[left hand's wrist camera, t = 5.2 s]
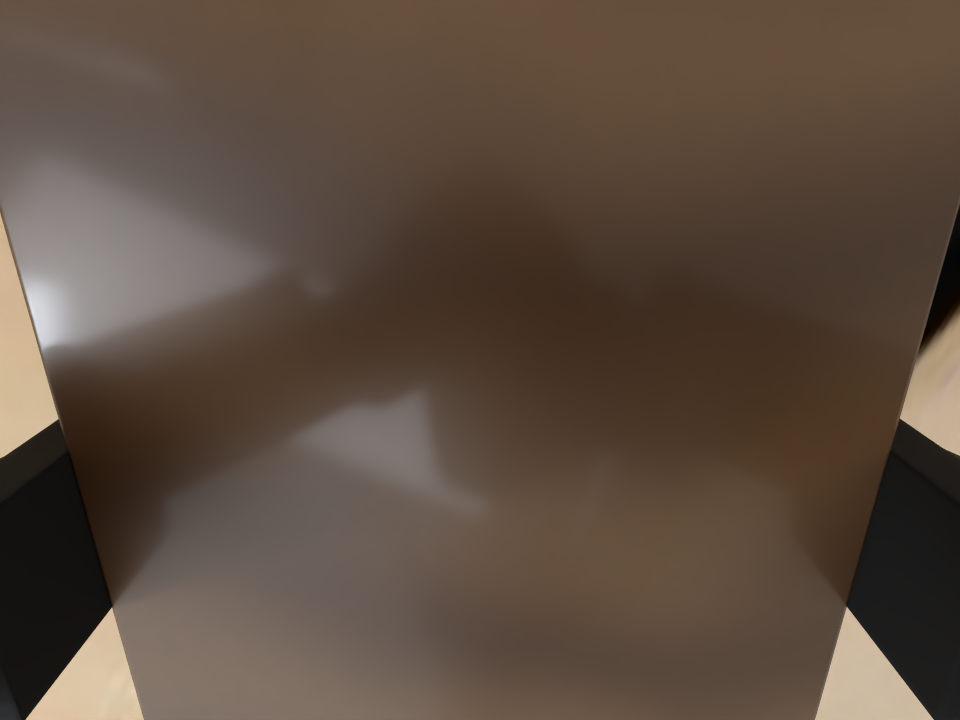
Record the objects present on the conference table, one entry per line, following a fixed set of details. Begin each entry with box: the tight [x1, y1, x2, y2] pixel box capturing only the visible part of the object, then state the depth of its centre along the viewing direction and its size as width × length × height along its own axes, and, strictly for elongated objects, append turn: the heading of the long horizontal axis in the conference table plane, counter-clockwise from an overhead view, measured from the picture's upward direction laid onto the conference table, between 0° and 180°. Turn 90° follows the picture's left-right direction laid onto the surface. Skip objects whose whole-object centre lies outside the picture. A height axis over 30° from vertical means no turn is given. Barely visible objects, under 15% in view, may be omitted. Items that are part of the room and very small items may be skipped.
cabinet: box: [0, 0, 960, 720], centre depth 11 cm, size 19×11×10 cm, turn 0°
